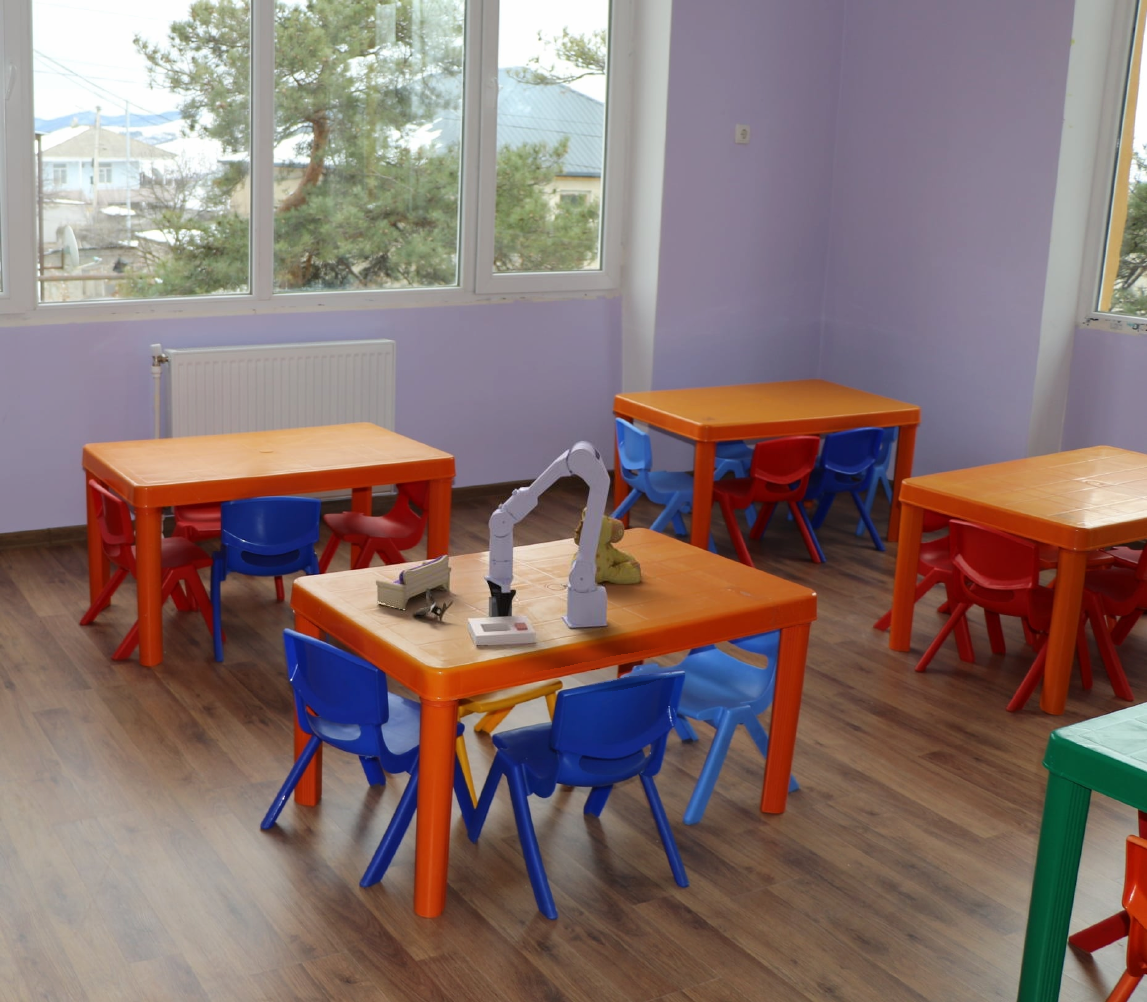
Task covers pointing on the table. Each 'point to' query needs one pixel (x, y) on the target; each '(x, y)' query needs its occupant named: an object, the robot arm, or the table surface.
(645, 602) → the table surface
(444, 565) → the toy sofa
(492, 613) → the plug
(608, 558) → the giraffe plush
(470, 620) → the socket
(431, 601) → the eagle figurine
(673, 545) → the table surface
